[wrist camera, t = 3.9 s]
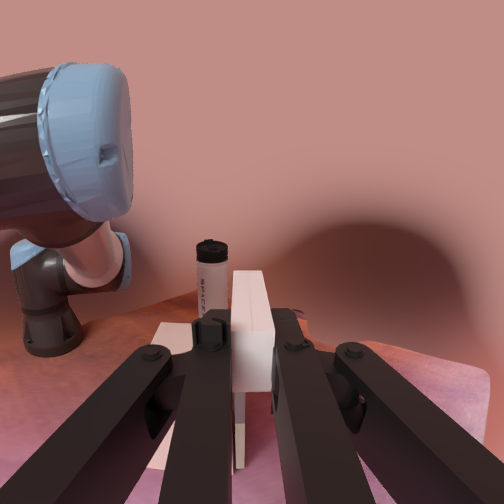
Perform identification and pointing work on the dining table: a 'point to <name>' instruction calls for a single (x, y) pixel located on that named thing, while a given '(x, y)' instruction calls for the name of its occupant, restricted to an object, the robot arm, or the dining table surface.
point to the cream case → (177, 342)
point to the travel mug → (212, 276)
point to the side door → (240, 429)
